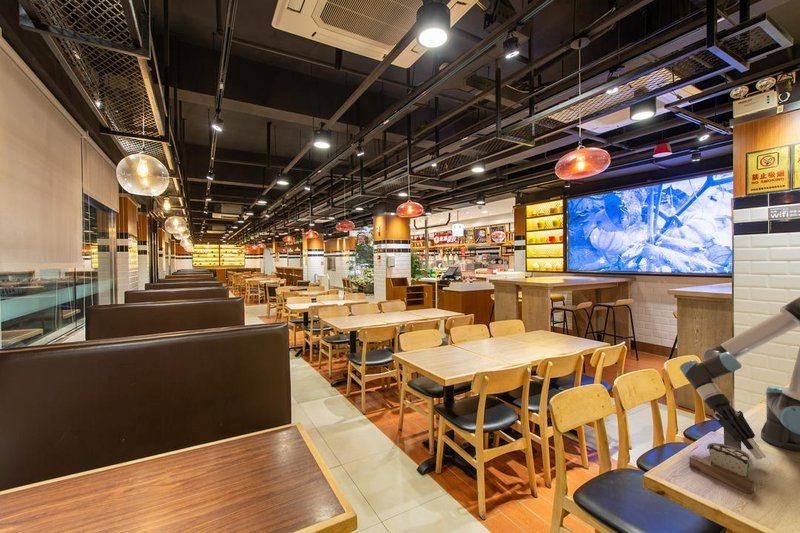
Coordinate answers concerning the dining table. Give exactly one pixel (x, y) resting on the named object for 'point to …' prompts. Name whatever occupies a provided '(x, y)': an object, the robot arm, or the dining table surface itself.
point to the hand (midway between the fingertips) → (761, 458)
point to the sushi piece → (730, 458)
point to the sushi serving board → (720, 472)
